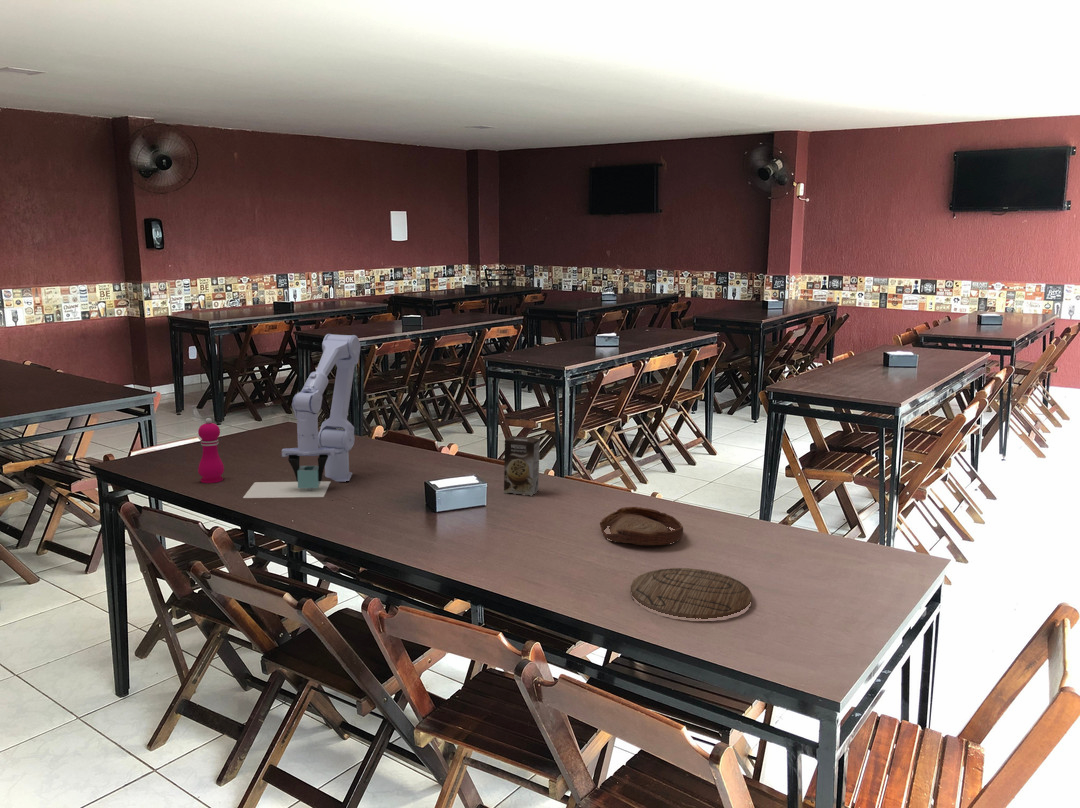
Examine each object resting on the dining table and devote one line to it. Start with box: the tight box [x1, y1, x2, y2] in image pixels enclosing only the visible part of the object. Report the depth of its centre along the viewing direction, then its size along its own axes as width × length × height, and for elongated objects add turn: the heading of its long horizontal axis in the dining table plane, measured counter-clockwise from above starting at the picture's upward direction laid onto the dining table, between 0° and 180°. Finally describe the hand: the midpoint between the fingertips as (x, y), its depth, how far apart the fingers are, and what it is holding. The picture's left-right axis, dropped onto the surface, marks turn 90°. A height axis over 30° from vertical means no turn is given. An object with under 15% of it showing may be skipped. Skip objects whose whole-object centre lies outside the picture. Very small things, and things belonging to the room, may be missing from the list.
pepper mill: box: [197, 417, 225, 484], centre depth 262 cm, size 7×7×20 cm
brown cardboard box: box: [503, 435, 541, 496], centre depth 259 cm, size 9×6×16 cm
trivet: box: [630, 567, 753, 619], centre depth 186 cm, size 25×25×2 cm
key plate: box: [242, 480, 332, 499], centre depth 255 cm, size 16×22×5 cm
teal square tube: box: [297, 465, 322, 488], centre depth 255 cm, size 6×6×5 cm
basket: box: [599, 506, 684, 546], centre depth 224 cm, size 22×20×5 cm
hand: (309, 480), depth 255 cm, fingers closed on teal square tube, 5 cm apart
